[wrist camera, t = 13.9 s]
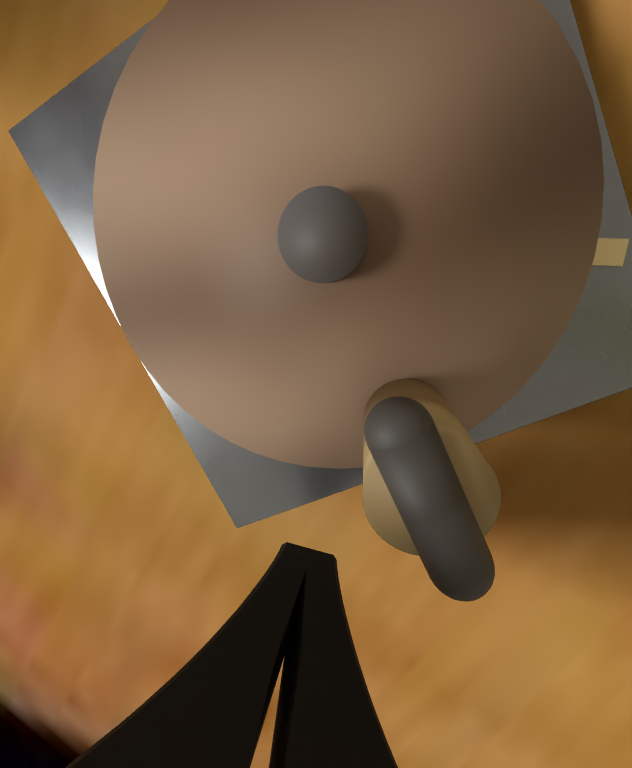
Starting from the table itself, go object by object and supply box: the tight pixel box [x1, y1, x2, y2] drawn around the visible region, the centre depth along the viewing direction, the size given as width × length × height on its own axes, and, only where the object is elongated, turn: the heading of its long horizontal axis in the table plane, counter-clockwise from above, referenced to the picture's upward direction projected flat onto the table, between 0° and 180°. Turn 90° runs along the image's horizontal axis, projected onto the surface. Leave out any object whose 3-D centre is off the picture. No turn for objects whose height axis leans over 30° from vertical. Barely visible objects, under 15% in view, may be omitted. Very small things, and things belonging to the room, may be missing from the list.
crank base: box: [9, 0, 632, 528], centre depth 10 cm, size 13×13×1 cm
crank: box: [93, 0, 604, 601], centre depth 7 cm, size 12×11×5 cm
